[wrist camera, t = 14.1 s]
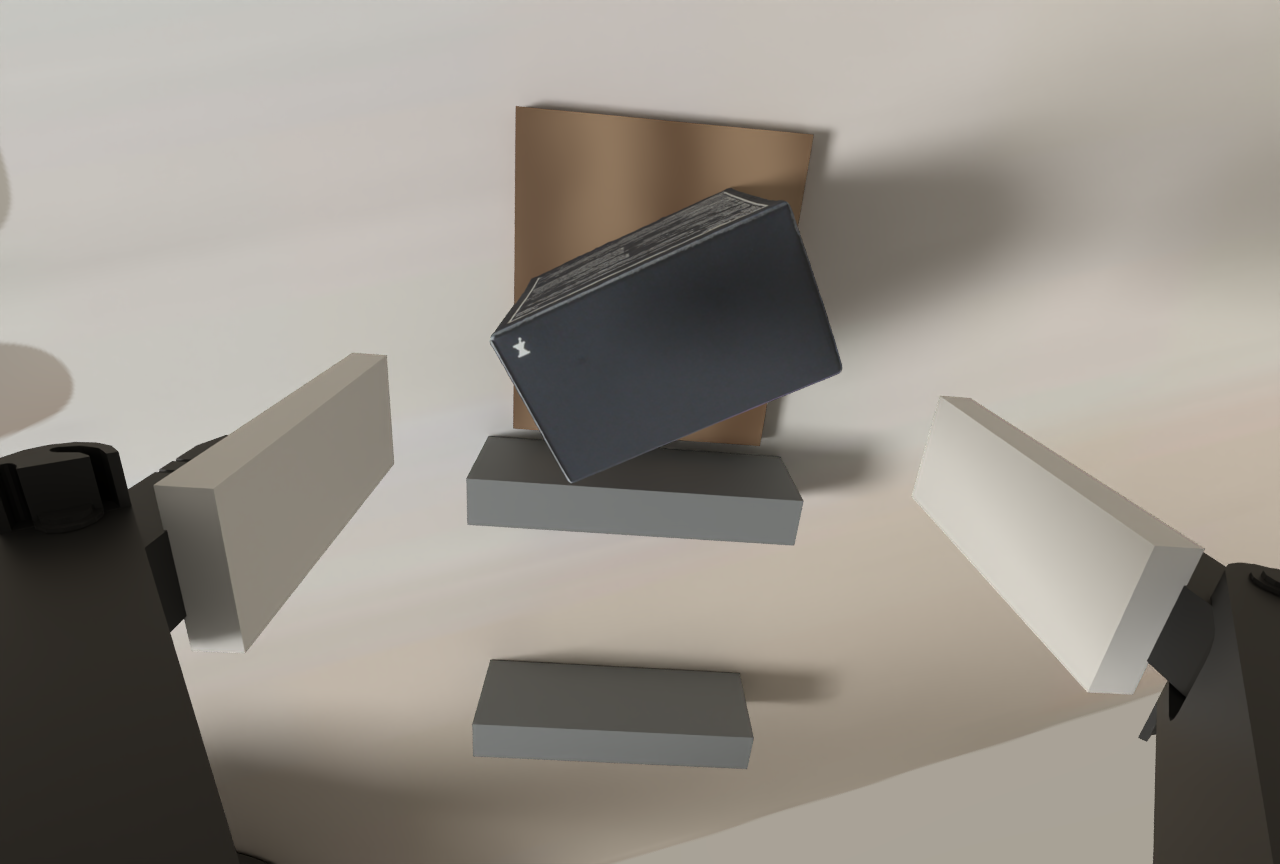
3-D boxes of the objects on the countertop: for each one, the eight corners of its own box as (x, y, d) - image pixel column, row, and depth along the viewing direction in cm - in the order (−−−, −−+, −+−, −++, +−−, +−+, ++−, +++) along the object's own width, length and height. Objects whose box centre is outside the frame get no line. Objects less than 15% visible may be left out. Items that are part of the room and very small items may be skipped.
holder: (490, 689, 41) (473, 756, 36) (488, 436, 34) (466, 478, 29) (734, 702, 42) (747, 768, 37) (780, 456, 35) (803, 501, 30)
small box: (585, 397, 32) (566, 496, 22) (525, 279, 30) (475, 333, 20) (780, 313, 31) (851, 381, 21) (733, 181, 28) (788, 189, 19)
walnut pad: (516, 421, 34) (513, 428, 33) (519, 108, 28) (515, 106, 27) (756, 438, 34) (759, 445, 33) (807, 135, 29) (813, 134, 28)
